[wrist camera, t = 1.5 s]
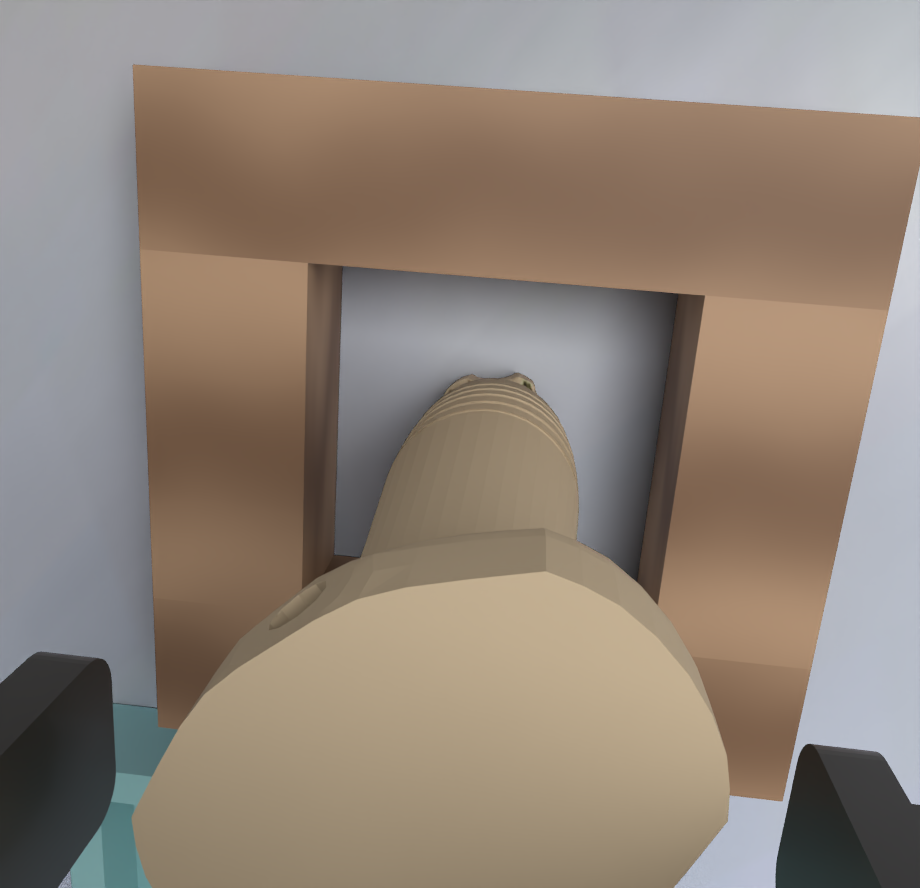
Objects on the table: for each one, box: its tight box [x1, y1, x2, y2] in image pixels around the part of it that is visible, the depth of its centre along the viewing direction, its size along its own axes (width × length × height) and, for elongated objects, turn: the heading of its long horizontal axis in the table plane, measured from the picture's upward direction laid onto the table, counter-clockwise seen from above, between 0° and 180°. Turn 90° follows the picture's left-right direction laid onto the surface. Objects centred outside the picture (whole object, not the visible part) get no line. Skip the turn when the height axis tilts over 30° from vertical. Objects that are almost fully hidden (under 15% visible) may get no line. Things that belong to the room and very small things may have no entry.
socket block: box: [133, 65, 920, 801], centre depth 22 cm, size 16×16×4 cm
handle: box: [131, 373, 730, 888], centre depth 16 cm, size 5×6×15 cm
